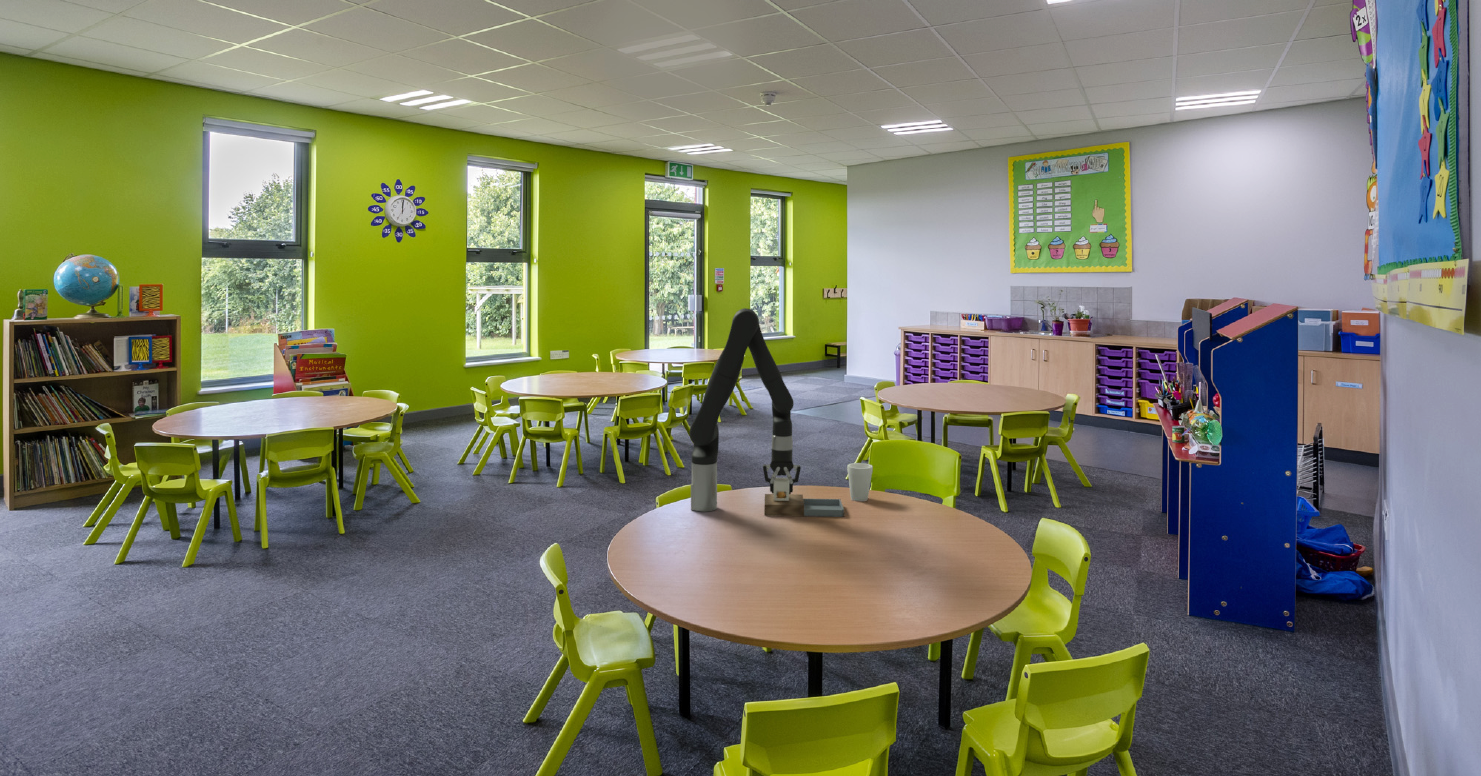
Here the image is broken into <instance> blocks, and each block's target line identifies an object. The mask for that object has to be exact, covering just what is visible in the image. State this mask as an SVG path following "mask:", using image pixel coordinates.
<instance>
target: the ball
mask: <svg viewBox="0 0 1481 776" xmlns="http://www.w3.org/2000/svg"><path fill="white" fill-rule="evenodd" d="M777 497H778V498H785V493H784V492H783V491H780V492H778V494H777Z"/></svg>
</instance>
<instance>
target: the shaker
mask: <svg viewBox="0 0 1481 776" xmlns="http://www.w3.org/2000/svg"><path fill="white" fill-rule="evenodd" d="M789 483H790V482H789V480H788V478H787V477H776V478H775V480H774V494H773V500H774V501H789ZM780 491H783V492H784V493H785V497H786V498H776V497H777V494H778V492H780Z"/></svg>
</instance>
